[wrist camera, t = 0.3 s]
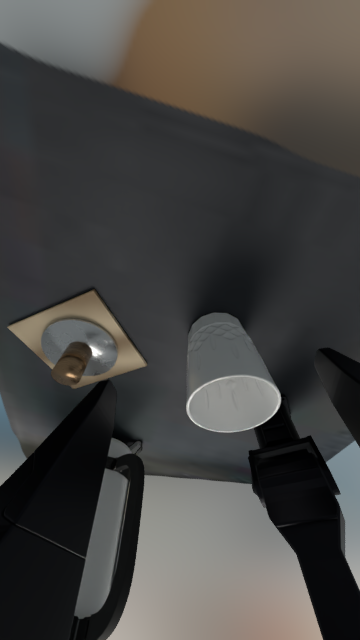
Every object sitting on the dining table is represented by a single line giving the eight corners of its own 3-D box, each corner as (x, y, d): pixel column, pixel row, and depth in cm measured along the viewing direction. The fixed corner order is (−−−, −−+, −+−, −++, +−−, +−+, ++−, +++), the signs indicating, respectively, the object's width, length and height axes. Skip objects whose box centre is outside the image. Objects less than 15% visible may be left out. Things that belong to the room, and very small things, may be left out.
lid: (131, 361, 28) (124, 390, 24) (75, 379, 30) (60, 409, 26) (89, 306, 23) (73, 332, 20) (26, 332, 25) (-1, 360, 22)
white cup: (172, 344, 27) (169, 418, 19) (206, 295, 23) (222, 361, 15) (223, 365, 29) (241, 440, 21) (261, 324, 26) (302, 395, 17)
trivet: (147, 363, 29) (146, 365, 29) (74, 386, 31) (73, 389, 31) (94, 288, 23) (93, 290, 22) (9, 325, 25) (7, 327, 25)
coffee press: (146, 462, 45) (107, 820, 20) (67, 458, 44) (-81, 835, 19) (151, 414, 35) (89, 984, 10) (51, 406, 34) (-299, 1038, 9)
